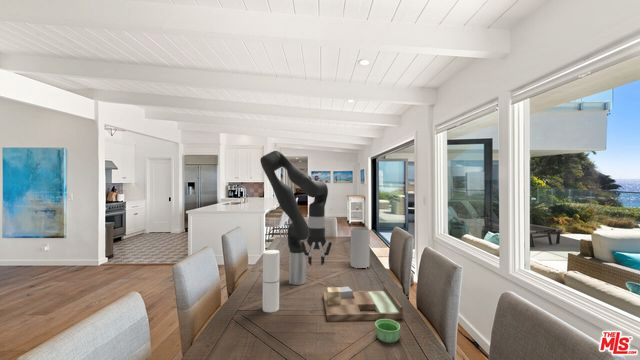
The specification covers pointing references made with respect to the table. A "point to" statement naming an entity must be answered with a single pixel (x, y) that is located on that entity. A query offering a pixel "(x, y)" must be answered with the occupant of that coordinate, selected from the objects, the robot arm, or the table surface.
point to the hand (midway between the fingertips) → (316, 264)
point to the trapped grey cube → (346, 293)
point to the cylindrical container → (270, 280)
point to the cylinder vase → (360, 247)
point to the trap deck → (365, 306)
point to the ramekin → (387, 330)
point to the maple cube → (334, 295)
